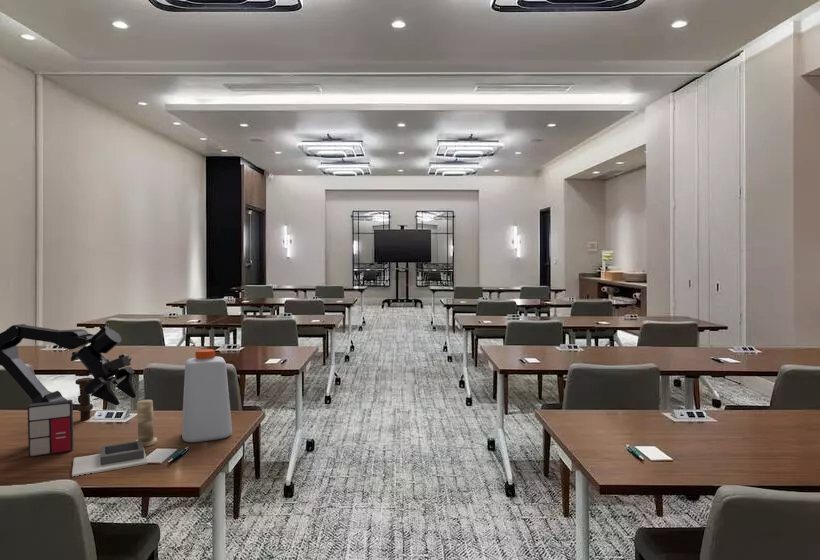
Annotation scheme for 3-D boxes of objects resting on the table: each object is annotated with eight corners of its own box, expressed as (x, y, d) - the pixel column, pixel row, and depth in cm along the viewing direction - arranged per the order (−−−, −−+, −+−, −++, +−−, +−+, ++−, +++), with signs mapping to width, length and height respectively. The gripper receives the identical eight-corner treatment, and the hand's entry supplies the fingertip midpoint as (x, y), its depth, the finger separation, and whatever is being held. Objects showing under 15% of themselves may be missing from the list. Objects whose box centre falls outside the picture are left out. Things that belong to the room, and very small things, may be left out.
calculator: (28, 458, 157) (26, 407, 157) (30, 453, 161) (29, 403, 161) (72, 451, 162) (71, 402, 162) (73, 447, 166) (72, 399, 166)
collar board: (71, 477, 142) (71, 466, 142) (74, 459, 155) (73, 450, 155) (147, 463, 151) (147, 454, 151) (143, 448, 164) (143, 439, 164)
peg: (135, 448, 165) (134, 404, 164) (133, 442, 170) (132, 400, 170) (158, 444, 168) (157, 402, 168) (156, 439, 173) (155, 397, 173)
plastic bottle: (182, 445, 167) (180, 355, 167) (181, 432, 181) (179, 349, 180) (233, 438, 173) (231, 351, 173) (228, 426, 187) (227, 345, 187)
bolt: (85, 422, 194) (84, 380, 194) (73, 421, 195) (72, 380, 195) (97, 417, 200) (96, 377, 200) (85, 417, 201) (84, 377, 201)
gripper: (96, 351, 160) (129, 391, 160) (130, 342, 179) (160, 378, 179) (68, 374, 161) (101, 414, 161) (105, 363, 179) (135, 399, 179)
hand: (126, 400), depth 170 cm, fingers open, 9 cm apart
